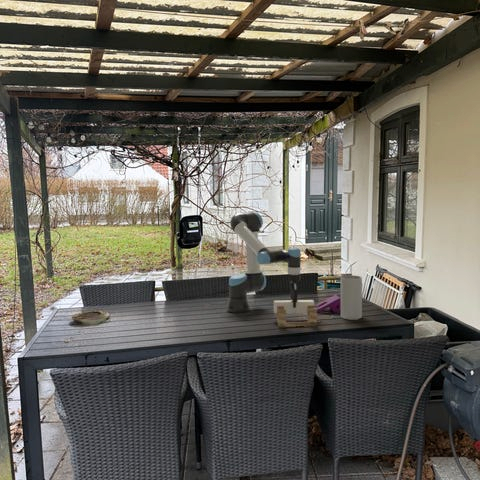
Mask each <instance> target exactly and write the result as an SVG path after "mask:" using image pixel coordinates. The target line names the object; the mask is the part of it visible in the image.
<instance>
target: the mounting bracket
mask: <svg viewBox="0 0 480 480" xmlns="http://www.w3.org/2000/svg"><path fill="white" fill-rule="evenodd" d="M316 305H319V308H314V309H317V313H321V312H323V311H325V310H326V309H329V308H330V310H331V311H332V312H334V313H335V314H336V313H341V297H339V296H338V295H337V294H334V295H333V296H331V297H329V298H327V299H325V300H323V301H321V302H319V303H317V304H316Z"/></svg>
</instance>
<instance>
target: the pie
mask: <svg viewBox="0 0 480 480" xmlns="http://www.w3.org/2000/svg"><path fill="white" fill-rule="evenodd" d="M110 317H111V314H109V312H107V311H104V310H86V311H82V312H78V313H75V314H74V315H73V314H72V316H71V319H72V320H73V321H74V323H75V324H77V325H84V326H90V327H92V326H93V327H94V326H95V327H96V326H97V325H98V324H102V323H106V322H105V321H107V323H109V322H110V321H111V318H110ZM91 325H92V326H91ZM84 326H81V327H82V328H83V327H84Z"/></svg>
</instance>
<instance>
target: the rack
mask: <svg viewBox="0 0 480 480" xmlns="http://www.w3.org/2000/svg"><path fill="white" fill-rule="evenodd" d="M314 305H315V304H314ZM314 305H307V313H306V314H307V317H306V319H307V321H288V322H287V315H286V314H287V313H286V310H284V306H277V314H276V315H277V317H276V319H277V320H276V321H277V325H278V327H279V328H292V327H293V328H294V327H295V328H297V327H296V326H298V327H299V326H304V327H318V312H317V309H314Z"/></svg>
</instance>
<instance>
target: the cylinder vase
mask: <svg viewBox="0 0 480 480" xmlns="http://www.w3.org/2000/svg"><path fill="white" fill-rule="evenodd" d="M362 297H363V277H362V276H360V275H355V274H354V275H351V274H348V275H347V274H346V275H341V276H340V299H341V312H340V318H341V319H345V320H347V321H349V320H350V321H357V320H359V319H362V316H363V312H362V311H363V308H362V307H363V305H362V304H363V298H362Z"/></svg>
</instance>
